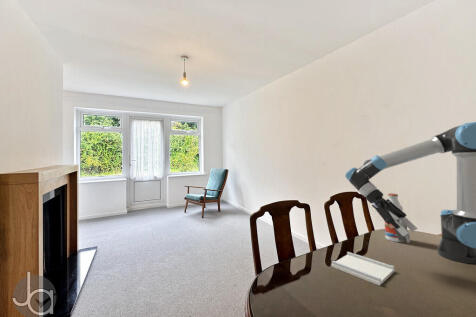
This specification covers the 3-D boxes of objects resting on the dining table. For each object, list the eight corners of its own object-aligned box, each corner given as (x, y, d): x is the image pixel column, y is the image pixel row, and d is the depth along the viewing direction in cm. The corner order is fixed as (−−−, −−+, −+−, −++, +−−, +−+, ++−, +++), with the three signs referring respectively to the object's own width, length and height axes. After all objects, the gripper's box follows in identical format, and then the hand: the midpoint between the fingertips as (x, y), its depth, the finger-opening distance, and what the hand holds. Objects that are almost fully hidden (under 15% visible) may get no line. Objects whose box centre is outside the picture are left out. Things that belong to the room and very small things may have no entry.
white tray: (394, 271, 94) (394, 265, 94) (379, 285, 84) (379, 279, 84) (348, 256, 110) (348, 251, 110) (331, 266, 100) (331, 261, 100)
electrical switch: (409, 243, 93) (406, 221, 94) (395, 242, 96) (392, 221, 97) (409, 237, 100) (406, 217, 101) (396, 236, 103) (393, 216, 104)
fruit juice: (407, 240, 128) (406, 194, 129) (397, 243, 125) (395, 195, 125) (391, 235, 137) (390, 192, 138) (381, 238, 134) (380, 193, 134)
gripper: (376, 195, 117) (413, 231, 104) (354, 200, 106) (393, 242, 92) (386, 186, 113) (426, 223, 99) (365, 190, 101) (407, 232, 88)
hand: (410, 232), depth 96 cm, fingers closed on electrical switch, 9 cm apart
